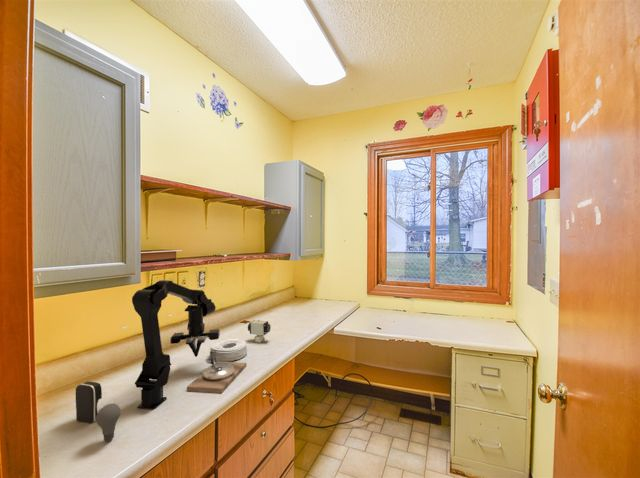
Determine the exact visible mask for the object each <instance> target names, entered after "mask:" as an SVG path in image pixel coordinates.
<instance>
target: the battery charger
mask: <svg viewBox="0 0 640 478" xmlns="http://www.w3.org/2000/svg"><path fill="white" fill-rule="evenodd" d="M102 393H103V392H102V385H101V383H99V382H95V381H86V382H85V381H84V382H83V383H80V384H78V385H77V386H76V387H75V410H76V412H75V413H76V414H75V415H76V416H75V417H76V419H75V420H76V421H79V422H82V423H83V422H84V423H87V424H92V423H95V422H96V416H97V413H98V404H99V401H100V400H101V399H102V398H103V397H102V395H103V394H102Z"/></svg>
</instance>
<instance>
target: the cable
mask: <svg viewBox="0 0 640 478" xmlns="http://www.w3.org/2000/svg"><path fill="white" fill-rule="evenodd" d="M213 350H215V351H216V362H233V361H234V362H235V361H237V360H240V359H242V358H244V357H246V356H247V353H248V345H247V342H246V341H245V340H243V339H236V338H235V339H233V338H232V339H225V340H221V341H218V342H215V343H213V344H211V345H210V351H213ZM210 351H209V352H210ZM206 361H207V363H209V364H210V357H207V358H206Z"/></svg>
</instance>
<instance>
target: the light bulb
mask: <svg viewBox="0 0 640 478" xmlns="http://www.w3.org/2000/svg"><path fill="white" fill-rule="evenodd" d="M120 416H121V408H120V406H118V405H117V404H115V403H108V404H106V405H103V407H101V408H100V409H99V410H98V411H97V416H96V421H95V422H96V424H97V425H98V426H99V428H100V429H101V431H102V435H103V441H104V442H110V441H112V440H113V438H115V430H116V424H117V422H118V420H119V418H120Z"/></svg>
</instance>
